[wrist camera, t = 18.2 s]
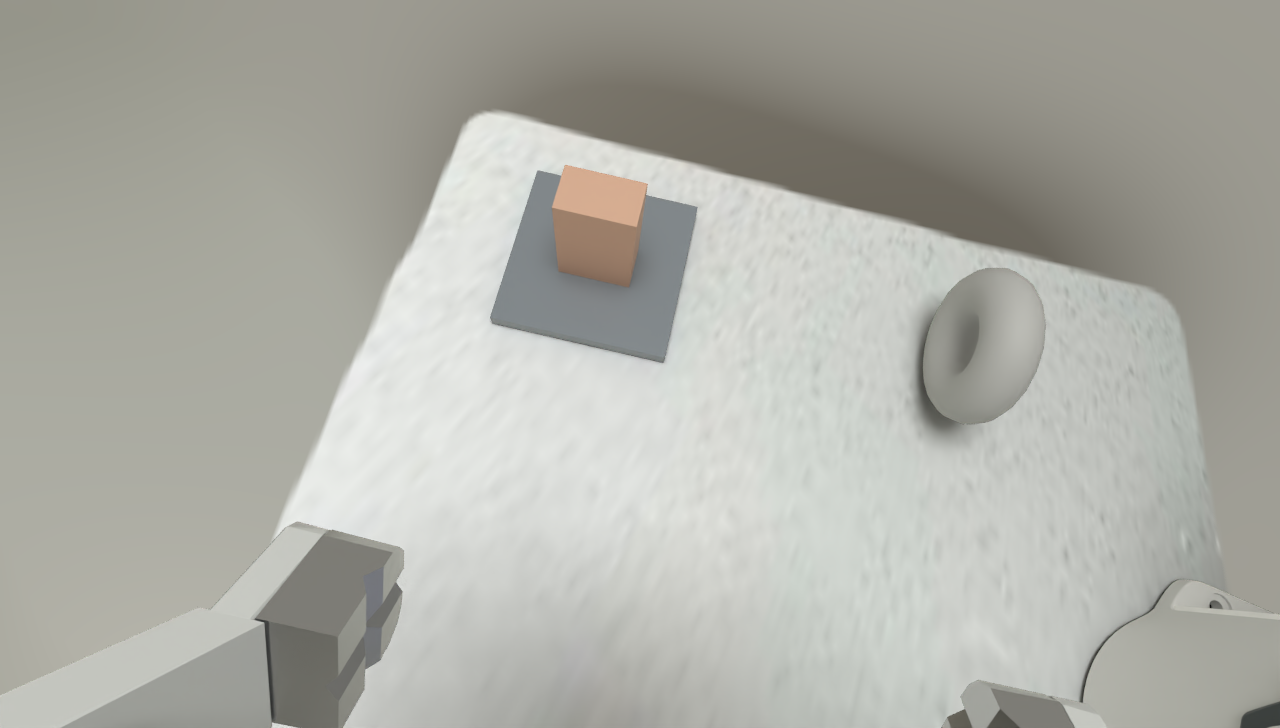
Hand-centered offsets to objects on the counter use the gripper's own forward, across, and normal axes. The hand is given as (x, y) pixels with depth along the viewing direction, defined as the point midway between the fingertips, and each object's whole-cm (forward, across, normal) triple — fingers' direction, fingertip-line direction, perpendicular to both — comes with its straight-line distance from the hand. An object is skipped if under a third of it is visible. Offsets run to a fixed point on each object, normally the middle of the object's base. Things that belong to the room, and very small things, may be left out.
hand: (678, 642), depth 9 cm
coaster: (+37, +6, +7) cm, 38 cm away
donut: (+36, -19, +9) cm, 42 cm away
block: (+36, +6, +6) cm, 38 cm away
